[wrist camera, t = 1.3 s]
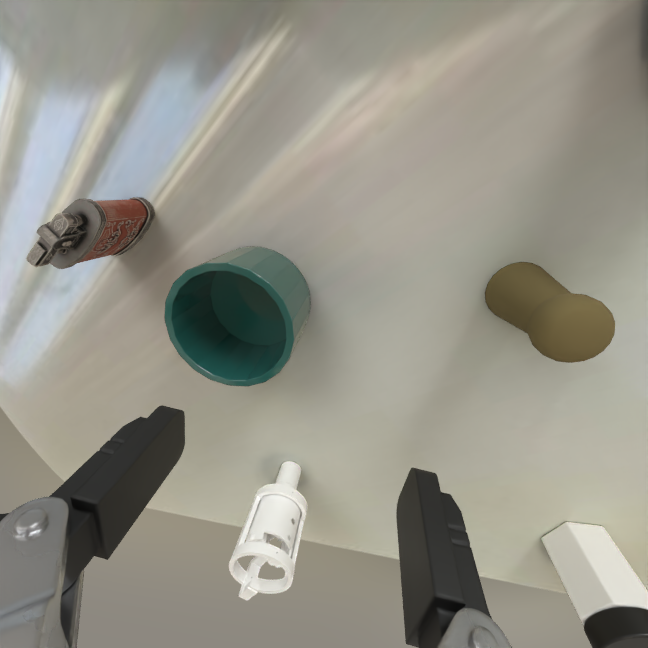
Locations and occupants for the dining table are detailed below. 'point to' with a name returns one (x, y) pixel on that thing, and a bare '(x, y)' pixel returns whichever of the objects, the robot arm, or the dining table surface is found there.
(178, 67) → the dining table surface
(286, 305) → the ceramic cup
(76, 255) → the lighter
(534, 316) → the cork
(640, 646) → the jar
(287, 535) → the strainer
